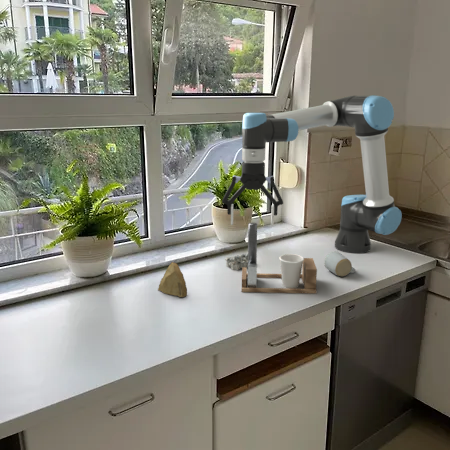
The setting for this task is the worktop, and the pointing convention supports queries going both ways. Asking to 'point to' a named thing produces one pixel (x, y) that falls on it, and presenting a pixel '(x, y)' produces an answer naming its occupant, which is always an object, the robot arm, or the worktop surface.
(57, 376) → the worktop surface
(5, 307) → the worktop surface
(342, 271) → the ceramic mug
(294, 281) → the dixie cup
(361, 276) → the worktop surface
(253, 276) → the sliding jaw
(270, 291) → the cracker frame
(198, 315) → the worktop surface
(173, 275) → the rock
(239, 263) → the egg carton
